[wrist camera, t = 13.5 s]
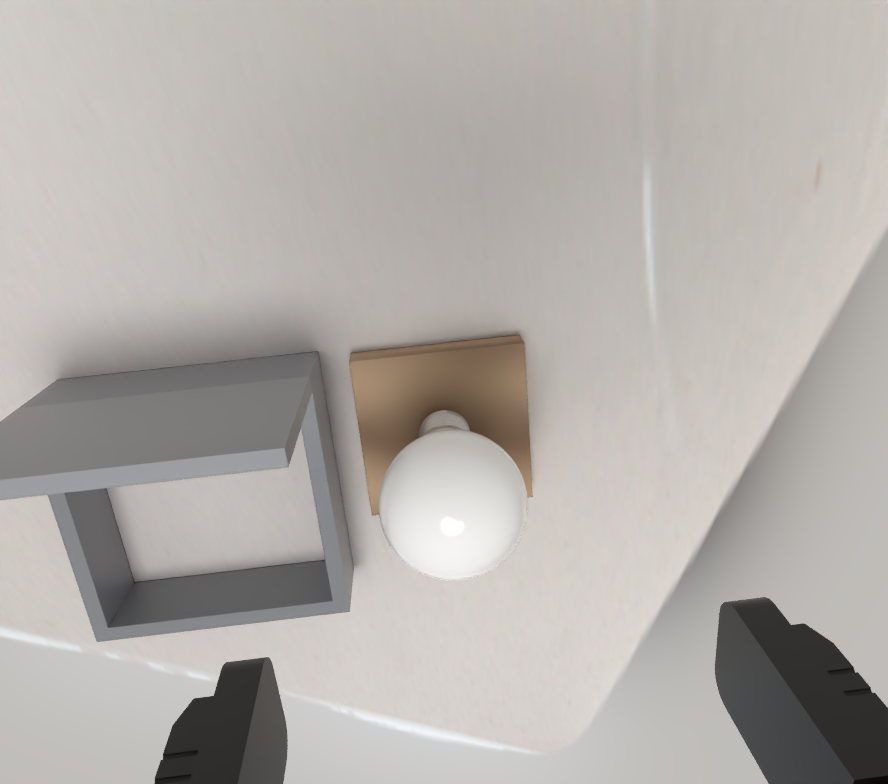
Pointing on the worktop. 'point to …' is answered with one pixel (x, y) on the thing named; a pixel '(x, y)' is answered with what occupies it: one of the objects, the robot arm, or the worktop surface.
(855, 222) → the worktop surface
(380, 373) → the stand
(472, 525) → the lightbulb
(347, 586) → the case
